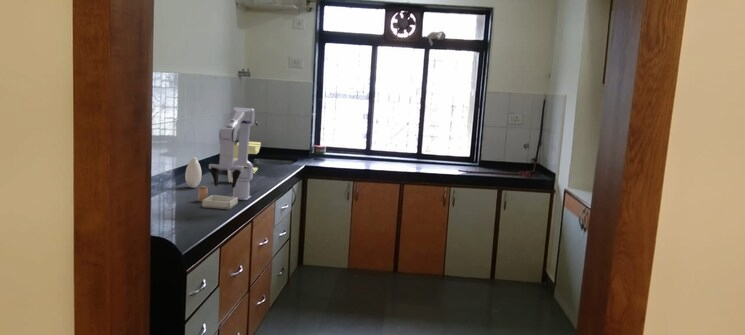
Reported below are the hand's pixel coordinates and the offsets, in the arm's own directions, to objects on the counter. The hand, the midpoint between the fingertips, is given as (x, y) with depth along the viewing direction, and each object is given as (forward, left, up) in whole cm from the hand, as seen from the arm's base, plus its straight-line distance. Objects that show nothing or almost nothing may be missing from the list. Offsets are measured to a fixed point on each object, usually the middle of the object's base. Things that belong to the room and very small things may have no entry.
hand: (225, 186), depth 247 cm
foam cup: (-73, -15, -10) cm, 75 cm away
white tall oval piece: (-45, -29, -10) cm, 54 cm away
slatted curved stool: (-119, -21, -10) cm, 121 cm away
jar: (-14, -14, -10) cm, 22 cm away
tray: (-8, -4, -10) cm, 13 cm away
